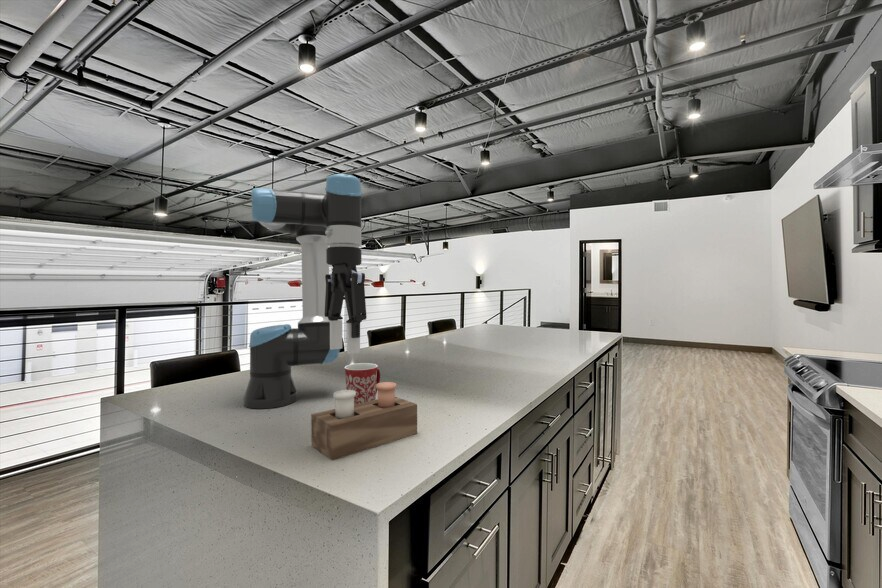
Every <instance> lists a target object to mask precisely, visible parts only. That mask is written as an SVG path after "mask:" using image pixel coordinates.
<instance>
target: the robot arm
mask: <svg viewBox="0 0 882 588" xmlns="http://www.w3.org/2000/svg"><path fill="white" fill-rule="evenodd" d="M325 182H326V184H325V188H324V189H325V194H323V193H316V192H315V193H313V192H307V191H305V192H304V191H292V190H283V189H275V188H270V187H263V188H262V187H261V188H260V187H255V188H253V189H252V190H251V219H252V220H253V221H255V222H258V223H259V224H260V225H261V226H262V227H264V228H266V229H268V230H271V231H274V232H276V233H277V232H278V233H282V234H292V235H295V238H296V241H297V243H299V245H300V246H301V249H300V250H301V289H302V290H301V293H302V295H301V299H302V316H301V317H302V318H301V319H299V321H298V322H297V328H292V325H290V324H289V323H288V324H287V323H286V324H276V325H275V324H274V325H270V326H265V327H259V328H257V329H255V330H253V331H252V332H251V333H250V336H249V345H248V347H249V381H248V384H247V387H246V390H245V392H244V395H243V407H246V408H249V409H256V410H257V409H272V408H273V409H274V408H278V407H284V406H287V405H291V404H293V403H295V402H296V401H298V390H297V388H296V385H295V382H294V380H293V377H292V367H295V366H297V367H298V366H310V365H319V364H320V365H324V364H329V363H334V362H336V361H337V359H338V358H339V357H338V356H339V354H340V351H341V349H343V319H344V318H343V316H342V309H343V305H344V301H345V306H346V310H347V311H346V312H347V317H348V319H347V320H346V321H345V323H346V354H348V355H350V354H351V355H352V354H360V353H361V323H362V321H365V320H367V318H368V317H367V316H368V315H367V306H366V305H367V303H366V291H365V279H366V274H365V272H358V270H357V266H360V265H362V249H361V248H360V247H361V246H362V195H363V193H362V184H361V183H362V182H361V180H360V179H359V178H358V177H356V176H354V175H353V174H346V173H344V174H343V173H334V174H330V175H329V176H327V178H326V181H325ZM330 266H331V267H332V271H331V274H330Z"/></svg>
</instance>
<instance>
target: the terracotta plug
mask: <svg viewBox="0 0 882 588" xmlns="http://www.w3.org/2000/svg"><path fill="white" fill-rule="evenodd" d="M376 389H378V390H377V399H378V407H380V408H383V409H385V408H389V407H393V406H395V397H396V393H395V392H396V391H395V390H396V389H397V383H396V382H392V381H385V382H384V381H383V382H380V383H378V384H376Z"/></svg>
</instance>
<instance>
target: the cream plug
mask: <svg viewBox="0 0 882 588" xmlns="http://www.w3.org/2000/svg"><path fill="white" fill-rule="evenodd" d="M355 396H356V391H354V390H347V389H341V390H337V391H334V392H333V398H334V399H335V400H334V402H335V408H334V409H335V417H336V418H338V419H344V418H348V417H352V416H354V397H355Z"/></svg>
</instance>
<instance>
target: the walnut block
mask: <svg viewBox="0 0 882 588" xmlns="http://www.w3.org/2000/svg"><path fill="white" fill-rule="evenodd" d="M310 416H311V417H310V419H311V421H310V422H311V423H310V424H311V427H310V429H311V432H310V433H311V435H310V437H311V438H310V439H311V441H310V442H311V447H312V448H314V449H316V450H317V451H318V452H320V453H322V454H323V455H324V456H325V457H326V458H328V459H330V460H331V461H333V460H338V459H340V458H343V457H346V456H350V455H353V454H356V453H359V452H363V451H366V450H369V449H372V448H376V447H378V446H380V445H385V444H389V443H391V442H394V441H398V440H401V439H403V438H406V437H410V436H413V435H416V434H418V404H417V403H415V402H411V401H409V400H406V399H403V398H401V397H398V396H395V406H393V407H389V408H385V409H383V408H380V407H378V398H376V399H375V400H373V401H368V402H364V403H359V404H355V405H354V416H352V417H348V418H344V419H338V418H336V417H335V408H333V409H329V410H324V411H319V412H314V413H312V414H310Z"/></svg>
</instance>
